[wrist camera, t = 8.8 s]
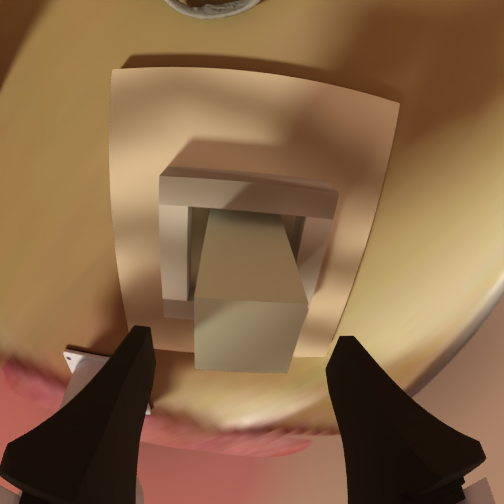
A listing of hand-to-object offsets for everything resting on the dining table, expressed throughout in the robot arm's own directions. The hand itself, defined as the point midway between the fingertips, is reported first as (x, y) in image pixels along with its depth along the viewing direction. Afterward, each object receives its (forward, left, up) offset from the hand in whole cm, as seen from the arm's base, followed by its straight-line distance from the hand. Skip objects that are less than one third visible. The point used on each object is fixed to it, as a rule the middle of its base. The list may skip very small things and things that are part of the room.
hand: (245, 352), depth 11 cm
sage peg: (0, 0, -8) cm, 8 cm away
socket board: (0, 0, -9) cm, 9 cm away
